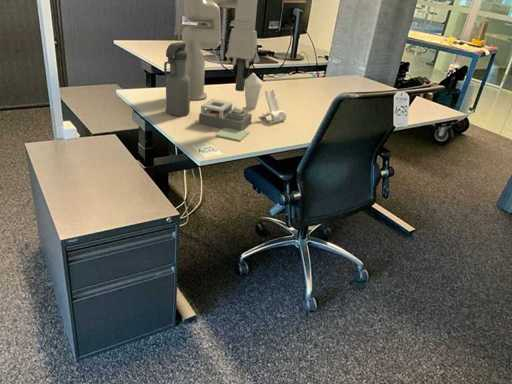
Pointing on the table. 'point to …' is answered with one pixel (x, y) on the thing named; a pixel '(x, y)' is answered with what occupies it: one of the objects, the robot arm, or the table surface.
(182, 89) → the water bottle
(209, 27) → the robot arm
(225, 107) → the grey push-button box
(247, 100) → the soft serve ice cream cone
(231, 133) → the mat
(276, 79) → the table surface
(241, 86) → the stylus
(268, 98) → the plastic part
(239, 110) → the on button
